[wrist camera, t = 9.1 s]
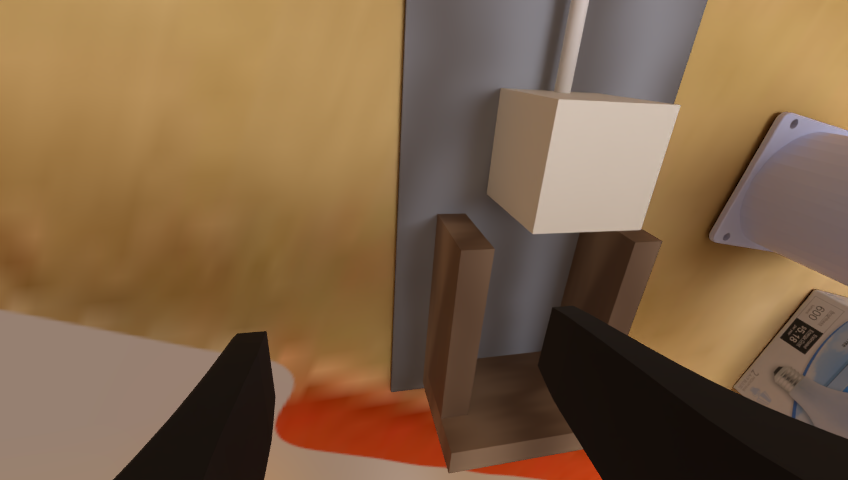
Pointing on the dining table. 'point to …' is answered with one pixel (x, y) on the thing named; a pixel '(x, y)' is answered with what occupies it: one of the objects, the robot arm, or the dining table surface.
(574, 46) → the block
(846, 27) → the dining table surface
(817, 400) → the light bulb box
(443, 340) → the panel
